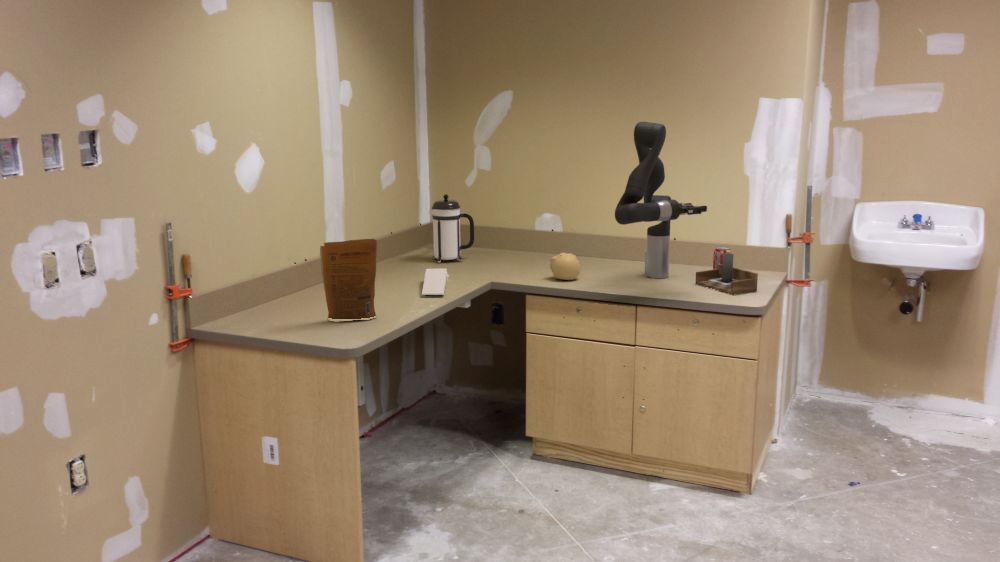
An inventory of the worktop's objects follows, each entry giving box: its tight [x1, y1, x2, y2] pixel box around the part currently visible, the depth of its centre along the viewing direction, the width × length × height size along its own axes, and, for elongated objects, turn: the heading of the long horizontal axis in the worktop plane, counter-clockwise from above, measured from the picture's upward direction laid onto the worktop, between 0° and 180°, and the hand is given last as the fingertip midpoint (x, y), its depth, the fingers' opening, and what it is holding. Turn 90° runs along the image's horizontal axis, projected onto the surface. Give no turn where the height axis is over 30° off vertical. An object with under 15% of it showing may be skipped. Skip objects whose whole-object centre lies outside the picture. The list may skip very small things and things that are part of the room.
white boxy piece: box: [421, 268, 450, 296], centre depth 346 cm, size 10×7×28 cm
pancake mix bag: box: [319, 238, 378, 319], centre depth 299 cm, size 7×19×28 cm, turn 101°
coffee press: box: [428, 193, 475, 262], centre depth 398 cm, size 17×16×30 cm
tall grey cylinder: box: [721, 249, 734, 283], centre depth 343 cm, size 4×4×14 cm
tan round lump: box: [549, 252, 581, 281], centre depth 361 cm, size 12×12×11 cm
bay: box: [695, 264, 759, 296], centre depth 343 cm, size 21×12×7 cm, turn 29°
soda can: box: [712, 246, 732, 270], centre depth 362 cm, size 7×7×12 cm
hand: (698, 207), depth 334 cm, fingers open, 8 cm apart
